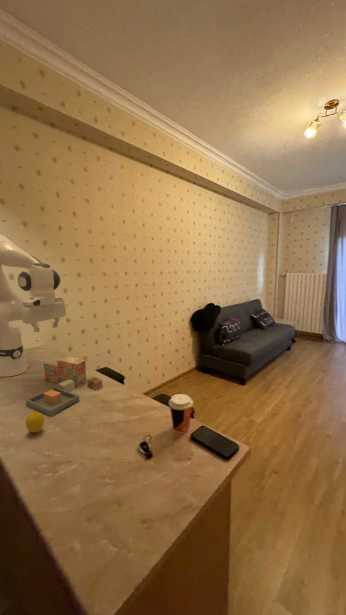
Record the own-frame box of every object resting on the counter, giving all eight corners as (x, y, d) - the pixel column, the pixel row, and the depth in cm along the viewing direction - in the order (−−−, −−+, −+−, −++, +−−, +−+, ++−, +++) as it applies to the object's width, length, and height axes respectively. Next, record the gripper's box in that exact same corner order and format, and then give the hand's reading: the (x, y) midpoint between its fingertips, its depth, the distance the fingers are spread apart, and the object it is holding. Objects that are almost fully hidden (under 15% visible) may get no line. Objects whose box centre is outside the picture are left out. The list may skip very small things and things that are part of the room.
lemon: (48, 429, 97) (46, 409, 95) (35, 439, 92) (33, 417, 90) (36, 426, 98) (34, 406, 97) (23, 435, 93) (21, 414, 92)
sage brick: (58, 391, 125) (58, 383, 124) (69, 386, 130) (69, 379, 129) (63, 394, 123) (63, 386, 122) (75, 389, 128) (74, 381, 127)
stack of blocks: (44, 380, 137) (42, 357, 134) (54, 375, 142) (52, 353, 140) (78, 388, 129) (76, 363, 127) (86, 382, 135) (85, 359, 133)
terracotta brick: (44, 401, 114) (43, 393, 114) (52, 397, 118) (51, 389, 117) (53, 405, 111) (52, 396, 111) (61, 401, 115) (60, 392, 114)
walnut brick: (87, 387, 130) (87, 379, 129) (94, 384, 133) (93, 376, 132) (95, 390, 127) (95, 382, 126) (102, 387, 130) (101, 379, 129)
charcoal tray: (26, 405, 112) (26, 400, 112) (55, 391, 124) (55, 386, 124) (51, 416, 105) (50, 410, 104) (79, 401, 117) (79, 395, 116)
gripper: (59, 296, 131) (61, 324, 133) (18, 301, 113) (20, 333, 116) (68, 297, 128) (69, 325, 130) (27, 303, 110) (29, 335, 113)
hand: (46, 329), depth 123 cm, fingers open, 8 cm apart
